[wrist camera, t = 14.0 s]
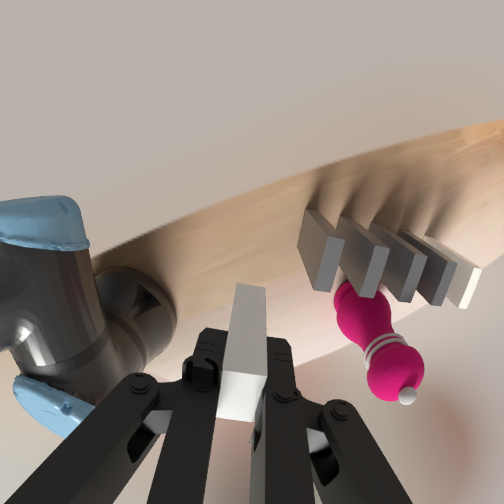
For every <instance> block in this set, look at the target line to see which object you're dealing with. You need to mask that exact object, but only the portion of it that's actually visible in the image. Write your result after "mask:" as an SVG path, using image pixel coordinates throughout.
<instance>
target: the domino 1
mask: <svg viewBox="0 0 504 504" xmlns="http://www.w3.org/2000/svg"><path fill="white" fill-rule="evenodd" d="M344 243H345V239H344V237H343V236H342V235H341V234H340V233H339V232H338V231H337V230H336V229H335V228H334V227H333V226H332V225H331V224H330V223H329V222H328V221H327V220H326V219H325V217H324V216H323V215H322V214H321V213H320V212H319V211H316V210H311V209H305V213H304V218H303V223H302V227H301V232H300V236H299V241H298V245H297V248H298V250H299V253H300V255H301V258H302V261H303V263H304V266H305V269H306V271H307V274H308V277H309V279H310V282H311V285H312V287H313V290H317V291H324V292H331V288H332V285H333V282H334V278H335V275H336V272H337V268H338V265H339V261H340V258H341V254H342V250H343V247H344Z"/></svg>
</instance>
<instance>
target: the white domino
mask: <svg viewBox="0 0 504 504" xmlns="http://www.w3.org/2000/svg"><path fill="white" fill-rule="evenodd" d="M423 241H425V242H426V243H428V244H429V245H431V246H432V247H434V248H436V249H437V250H439V251H440V252H442V253H443V254H445V255H446V256H448V257H449V258H451V259H452V260H453V261H455V262H456V263H458V264H457V267H456V270H455V273H454V275H453V278H452V281H451V283H450V286H449V288H448V291H447V293H446V297H447V298H448V299H449V300H450V301H451V302H452V303H453V304H454V305H456V307H458V308H463V309H466V308H467V306H468V304H469V302H470V299H471V297H472V295H473V292H474V290H475V287H476V285H477V282H478V279H479V277H480V274H481V272H482V269H481V268H480V267H478V266H477V265H475V264H474V263H472V262H471V261H469V260H467V259H466V258H464V257H463V256H461V255H460V254H458V253H457V252H455V251H453V250H452V249H450V248H449V247H447V246H445V245H444V244H442V243H440V242H439V241H437V240H435V239H434V238H432V237H428V236H424V237H423Z"/></svg>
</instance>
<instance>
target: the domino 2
mask: <svg viewBox="0 0 504 504" xmlns="http://www.w3.org/2000/svg"><path fill="white" fill-rule="evenodd" d="M336 230H337V231H338V232H339V233H340V234H341V235H342V236H343V237H344V239H345V243H344V247H343V250H342V254H341V258H340V261H339V266H340V268H341V269H342V271H343V272H344V274H345V275H346V277H347V278H348V280H349V281H350V283H351V284H352V286H353V288H354V289H355V291H356V292H357V294H358V295H359V296H361V297H368V298H374V296H375V293H376V291H377V288H378V285H379V282H380V279H381V276H382V273H383V270H384V267H385V264H386V261H387V258H388V255H389V251H390V248H389V247H388V246H387V245H385V244H384V243H383V242H382V241H380V240H379V239H378V238H377V237H375V236H374V235H373V234H372V233H370V232H369V231H368V230H366V229H365V228H364V227H363V226H361V225H360V224H359V223H357V222H356V221H355V220H353V219H352V218H350V217H345V216H339V221H338V225H337V229H336Z"/></svg>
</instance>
